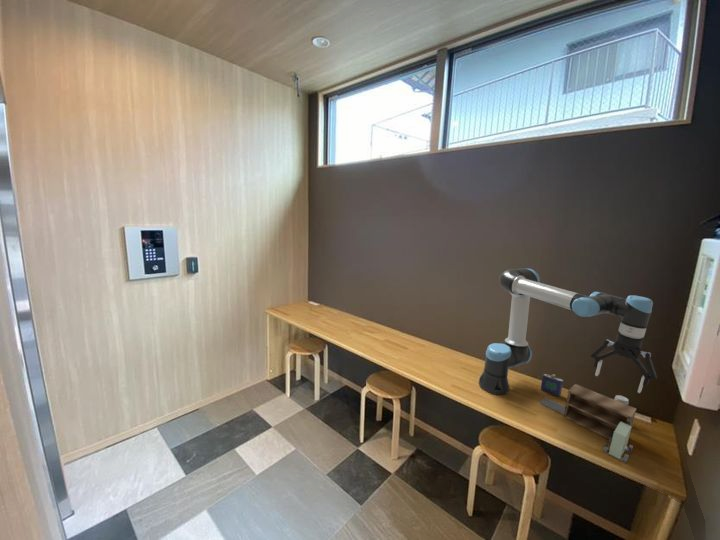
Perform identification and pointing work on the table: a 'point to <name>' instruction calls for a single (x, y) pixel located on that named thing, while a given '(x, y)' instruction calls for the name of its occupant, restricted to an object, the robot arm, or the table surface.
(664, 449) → the table surface
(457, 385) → the table surface
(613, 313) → the robot arm
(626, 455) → the hinge clips
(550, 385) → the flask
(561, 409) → the smartphone
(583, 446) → the table surface
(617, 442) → the pale green square block
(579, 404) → the cabinet
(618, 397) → the beverage can
